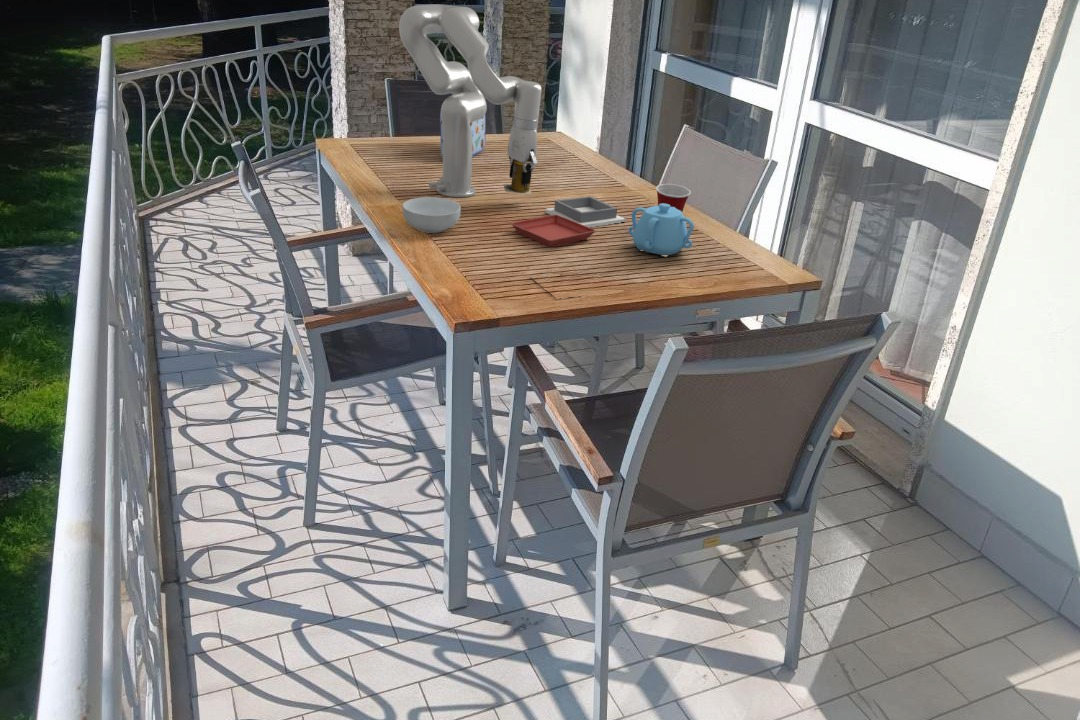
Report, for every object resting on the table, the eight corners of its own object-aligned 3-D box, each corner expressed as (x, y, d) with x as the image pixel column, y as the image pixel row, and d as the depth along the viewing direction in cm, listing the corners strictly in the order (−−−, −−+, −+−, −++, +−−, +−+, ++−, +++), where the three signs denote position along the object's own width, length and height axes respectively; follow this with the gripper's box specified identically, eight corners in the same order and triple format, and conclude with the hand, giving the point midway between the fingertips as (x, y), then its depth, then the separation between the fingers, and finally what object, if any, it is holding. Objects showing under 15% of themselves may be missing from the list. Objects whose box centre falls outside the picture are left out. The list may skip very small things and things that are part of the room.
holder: (578, 229, 261) (580, 216, 259) (545, 212, 274) (546, 199, 272) (624, 222, 270) (626, 209, 268) (590, 206, 283) (591, 193, 281)
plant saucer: (509, 233, 254) (510, 222, 253) (555, 224, 265) (556, 213, 264) (549, 251, 242) (550, 240, 241) (595, 241, 253) (596, 230, 252)
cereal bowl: (396, 220, 256) (396, 197, 252) (450, 218, 261) (451, 195, 258) (410, 239, 242) (410, 215, 238) (467, 236, 247) (468, 213, 244)
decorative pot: (693, 260, 243) (701, 214, 237) (638, 259, 241) (645, 212, 235) (676, 241, 258) (683, 197, 252) (624, 240, 255) (630, 195, 249)
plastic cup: (656, 231, 265) (661, 193, 259) (646, 220, 274) (651, 183, 269) (690, 232, 267) (696, 194, 261) (679, 221, 276) (684, 184, 271)
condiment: (531, 194, 273) (536, 156, 268) (505, 192, 272) (509, 154, 266) (528, 187, 280) (533, 150, 274) (503, 185, 278) (506, 148, 273)
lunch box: (461, 166, 317) (463, 104, 307) (435, 162, 320) (436, 101, 310) (488, 151, 341) (490, 93, 331) (463, 147, 343) (465, 90, 333)
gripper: (500, 117, 270) (495, 173, 278) (530, 131, 258) (524, 189, 266) (520, 116, 274) (515, 171, 282) (551, 130, 262) (544, 187, 270)
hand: (519, 179), depth 274 cm, fingers closed on condiment, 6 cm apart
